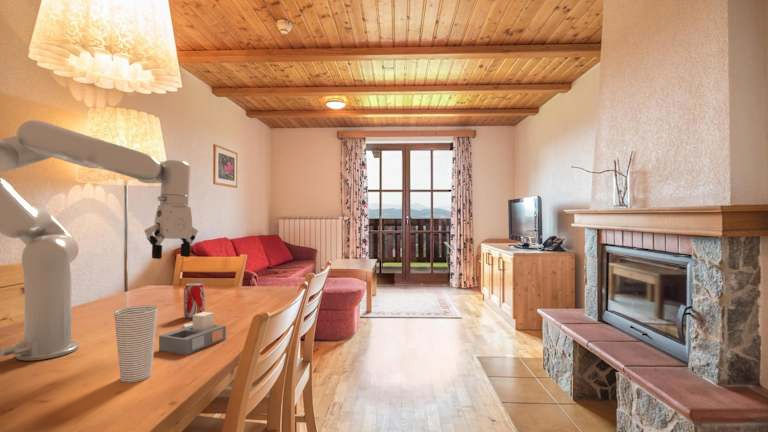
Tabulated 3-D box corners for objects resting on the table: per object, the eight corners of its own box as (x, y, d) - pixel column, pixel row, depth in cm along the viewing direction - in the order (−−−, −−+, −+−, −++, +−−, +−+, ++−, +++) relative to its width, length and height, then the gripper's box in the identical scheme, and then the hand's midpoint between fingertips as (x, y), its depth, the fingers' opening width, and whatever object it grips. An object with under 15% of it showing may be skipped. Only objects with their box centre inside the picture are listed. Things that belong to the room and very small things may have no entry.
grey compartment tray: (187, 355, 103) (187, 340, 103) (158, 350, 106) (159, 335, 106) (226, 339, 116) (226, 325, 116) (200, 335, 119) (200, 322, 119)
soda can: (199, 319, 139) (199, 285, 139) (179, 318, 139) (179, 285, 139) (208, 314, 146) (208, 282, 146) (189, 314, 146) (190, 282, 146)
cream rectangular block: (203, 343, 112) (203, 316, 112) (192, 342, 113) (192, 315, 113) (213, 339, 116) (213, 313, 116) (203, 338, 117) (203, 311, 117)
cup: (109, 388, 83) (109, 315, 83) (118, 373, 91) (118, 307, 91) (154, 381, 86) (155, 312, 86) (160, 367, 94) (160, 304, 94)
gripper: (157, 199, 109) (153, 260, 108) (206, 203, 125) (203, 256, 124) (138, 199, 111) (135, 258, 111) (189, 203, 127) (186, 255, 127)
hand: (171, 257), depth 118 cm, fingers open, 9 cm apart
